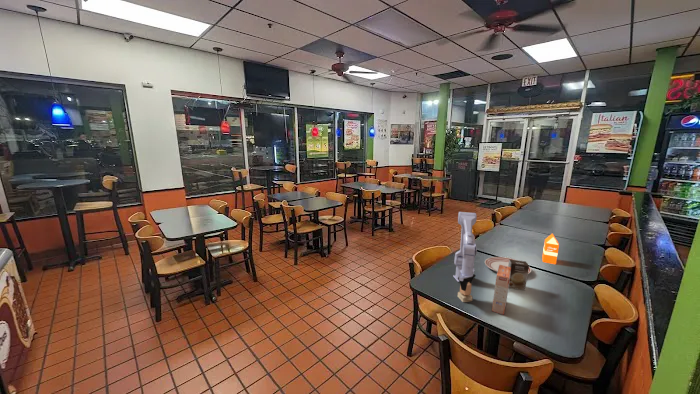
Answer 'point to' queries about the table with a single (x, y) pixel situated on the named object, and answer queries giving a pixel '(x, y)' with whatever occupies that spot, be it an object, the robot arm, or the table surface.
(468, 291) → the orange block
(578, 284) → the table surface
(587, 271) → the table surface
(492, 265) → the dinner plate
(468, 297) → the beech base
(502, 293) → the cracker box
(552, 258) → the orange juice
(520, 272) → the coffee box
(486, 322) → the table surface
